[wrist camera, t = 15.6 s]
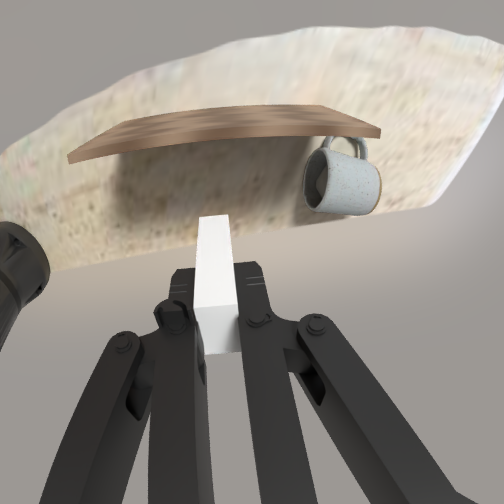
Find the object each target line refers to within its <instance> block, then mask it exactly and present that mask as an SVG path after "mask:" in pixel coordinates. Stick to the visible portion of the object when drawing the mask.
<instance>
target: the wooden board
mask: <svg viewBox="0 0 504 504" xmlns="http://www.w3.org/2000/svg"><path fill="white" fill-rule="evenodd" d="M380 134H381V129H380V128H378V127H376V126H373V125H371V124H369V123H366V122H364V121H361V120H359V119H356V118H354V117H351V116H349V115H346V114H343V113H341V112H338V111H335V110H332V109H330V108H327V107H324V106H321V105H253V106H234V107H221V108H209V109H200V110H191V111H183V112H175V113H168V114H162V115H156V116H150V117H144V118H139V119H133V120H128V121H124V122H122V123H120V124H118V125H116V126H115V127H113V128H111V129H109V130H107V131H105V132H104V133H102V134H100V135H98V136H97V137H95V138H93V139H92V140H90V141H88V142H87V143H85V144H83V145H82V146H80V147H78V148H77V149H75V150H74V151H72V152H71V153H69V154H67V157H68V162H69V164H73V163H77V162H81V161H85V160H89V159H94V158H98V157H103V156H108V155H113V154H118V153H123V152H129V151H134V150H140V149H146V148H153V147H159V146H166V145H174V144H182V143H190V142H199V141H209V140H220V139H232V138H247V137H268V136H344V137H365V138H379V139H380Z"/></svg>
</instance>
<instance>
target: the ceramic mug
mask: <svg viewBox="0 0 504 504" xmlns="http://www.w3.org/2000/svg"><path fill="white" fill-rule="evenodd" d="M333 137H334V136H327V137H326V139H325V141H324V144H323V148H318V149H316V150H315V151H314V152H313V153H312V155H311V156H310V158H309V160H308V163H307V166H306V169H305V174H304V180H303V195H304V200H305V203H306V205H307V207H308V208H309V209H310V210H312V211H315V212H326V213H336V214H346V215H354V216H360V215H366V214H369V213H370V212H372V211H373V210H374V209H375V207H376V206H377V204H378V202H379V200H380V196H381V192H382V181H381V177H380V173H379V171H378V170H377V168H376V167H375V166H374V165H372V164H371V163H369V162H367V158H368V149H367V145H366V142H365V140H364V138H363V137H351V138H352V139H355V140H356V141H357V143H358V145H359V150H360V159H359V158H355V157H351V156H348V155H345V154H342V153H339V152H336V151H332V150H330V144H331V142H332V139H333Z"/></svg>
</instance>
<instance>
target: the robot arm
mask: <svg viewBox="0 0 504 504" xmlns="http://www.w3.org/2000/svg"><path fill="white" fill-rule="evenodd" d="M49 276H50V269H49V264H48V260H47V258H46V255H45V253H44V251H43V249H42V248H41V246H40V244H39V243H38V242H37V240H36V239H35V238H34V237H33V236H32V235H31V234H30V233H29V232H28V231H27V230H25V229H24V228H23V227H21V226H19V225H17V224H15V223H12V222H0V351H1V349H2V346H3V344H4V342H5V340H6V338H7V336H8V334H9V332H10V330H11V327H12V326H13V324H14V322H15V320H16V318H17V316H18V314H19V312H20V311H21V309H22V308H23V307H24V306H26V305H27V304H28V303H30V302H31V301H32V300H33V299H35V298H36V297H37V296H39V294H41V293H42V291H43V290H44V288H45V286H46V285H47V283H48V281H49ZM153 313H154V315H155V318H156V321H157V323H158V326H159V329H157V330H156V331H154V332H152V333H150V334H147V335H144V336H140V337H138V336H137V335H136V334H135V333H133V332H131V331H123V332H120V333H117V334H116V335H114V336H113V337H112V338H111V339H110V340H109V342H108V343H107V345H106V347H105V349H104V351H103V353H102V355H101V357H100V359H99V361H98V363H97V365H96V367H95V369H94V371H93V373H92V375H91V377H90V379H89V381H88V383H87V385H86V387H85V389H84V392H83V394H82V396H81V398H80V400H79V402H78V404H77V407H76V409H75V411H74V413H73V416H72V418H71V420H70V422H69V425H68V427H67V430H66V432H65V435H64V437H63V439H62V441H61V444H60V446H59V449H58V452H57V454H56V457H55V459H54V462H53V465H52V467H51V470H50V473H49V476H48V478H47V482H46V484H45V487H44V490H43V493H42V496H41V499H40V502H39V504H122V500H123V497H124V494H125V490H126V487H127V484H128V480H129V477H130V473H131V470H132V467H133V464H134V461H135V457H136V454H137V451H138V448H139V445H140V441H141V439H142V436H143V432H144V430H145V427H146V423H147V421H148V417H149V415H150V412H151V415H150V416H151V417H150V432H149V459H148V504H215V503H214V492H213V482H212V469H211V456H210V440H209V425H208V424H209V423H208V402H207V376H206V364H205V360H204V351H205V354H219V353H230V352H240V351H241V352H242V361H243V370H244V377H245V386H246V394H247V402H248V409H249V418H250V425H251V434H252V441H253V449H254V455H255V462H256V470H257V477H258V484H259V490H260V498H261V503H262V504H318V502H317V498H316V494H315V489H314V484H313V480H312V475H311V470H310V466H309V461H308V458H307V452H306V448H305V444H304V440H303V435H302V430H301V426H300V421H299V417H298V413H297V408H296V404H295V400H294V395H293V391H292V387H291V382H290V378H289V373H288V372H293V373H294V375H295V376H296V378H297V380H298V382H299V384H300V385H301V387H302V389H303V390H304V392H305V394H306V396H307V397H308V399H309V401H310V403H311V404H312V406H313V408H314V410H315V411H316V413H317V415H318V416H319V418H320V420H321V421H322V423H323V425H324V427H325V429H326V430H327V432H328V433H329V435H330V437H331V439H332V440H333V442H334V444H335V445H336V447H337V449H338V451H339V452H340V454H341V456H342V457H343V459H344V460H345V462H346V464H347V465H348V467H349V469H350V471H351V472H352V474H353V475H354V477H355V479H356V480H357V482H358V484H359V485H360V487H361V489H362V490H363V492H364V493H365V495H366V497H367V498H368V500H369V502H370V503H371V504H477V503H475V502H474V501H472V500H470V499H468V498H466V497H465V496H463V495H461V494H460V493H458V492H456V491H455V489H454V488H453V487H452V485H451V483H450V482H449V480H448V479H447V478H446V476H445V475H444V473H443V472H442V470H441V469H440V467H439V466H438V465H437V463H436V462H435V460H434V459H433V457H432V456H431V455H430V453H429V452H428V450H427V449H426V447H425V446H424V445H423V443H422V442H421V440H420V439H419V438H418V436H417V435H416V433H415V432H414V431H413V429H412V428H411V426H410V425H409V424H408V422H407V421H406V419H405V418H404V417H403V415H402V414H401V413H400V411H399V410H398V408H397V407H396V406H395V404H394V403H393V402H392V400H391V399H390V397H389V396H388V395H387V393H386V392H385V391H384V389H383V388H382V386H381V385H380V384H379V383H378V381H377V380H376V378H375V377H374V376H373V374H372V373H371V372H370V370H369V369H368V368H367V366H366V365H365V364H364V362H363V361H362V360H361V358H360V357H359V356H358V354H357V353H356V352H355V350H354V349H353V348H352V346H351V345H350V344H349V342H348V341H347V340H346V338H345V337H344V336H343V335H342V333H341V332H340V330H339V329H338V328H337V326H336V325H335V324H334V323H333V321H332V320H330V319H329V318H328V317H326V316H324V315H322V314H309V315H306V316H304V317H303V318H301V320H300V321H299V322H297V321H289V320H285V319H282V318H280V317H278V316H277V315H275V314H274V312H273V311H272V309H271V307H270V303H269V298H268V294H267V290H266V286H265V281H264V277H263V272H262V268H261V267H260V266H259V265H258V264H257V263H256V262H255V261H252V262H243V263H233V258H232V248H231V238H230V229H229V219H228V215H217V216H207V217H199V229H198V241H197V255H196V268H187V269H177V270H176V272H175V273H174V274H173V276H172V278H171V284H170V291H169V297H168V299H166V300H164V301H162V302H161V303H159V304H158V305H157V306H156V308H155V310H154V312H153Z"/></svg>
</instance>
